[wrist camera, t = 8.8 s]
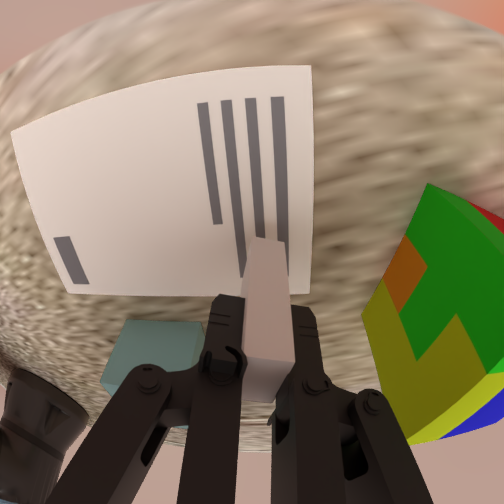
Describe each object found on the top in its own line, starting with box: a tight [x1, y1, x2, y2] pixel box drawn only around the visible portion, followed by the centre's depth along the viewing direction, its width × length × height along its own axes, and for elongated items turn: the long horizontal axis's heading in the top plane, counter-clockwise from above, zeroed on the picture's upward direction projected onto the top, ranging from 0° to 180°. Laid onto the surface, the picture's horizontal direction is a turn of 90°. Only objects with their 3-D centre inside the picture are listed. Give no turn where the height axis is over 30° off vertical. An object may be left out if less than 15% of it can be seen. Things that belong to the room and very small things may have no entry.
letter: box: [11, 65, 314, 296], centre depth 15 cm, size 18×13×1 cm
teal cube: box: [100, 319, 205, 429], centre depth 19 cm, size 6×6×6 cm
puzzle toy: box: [361, 183, 504, 445], centre depth 12 cm, size 10×10×10 cm
